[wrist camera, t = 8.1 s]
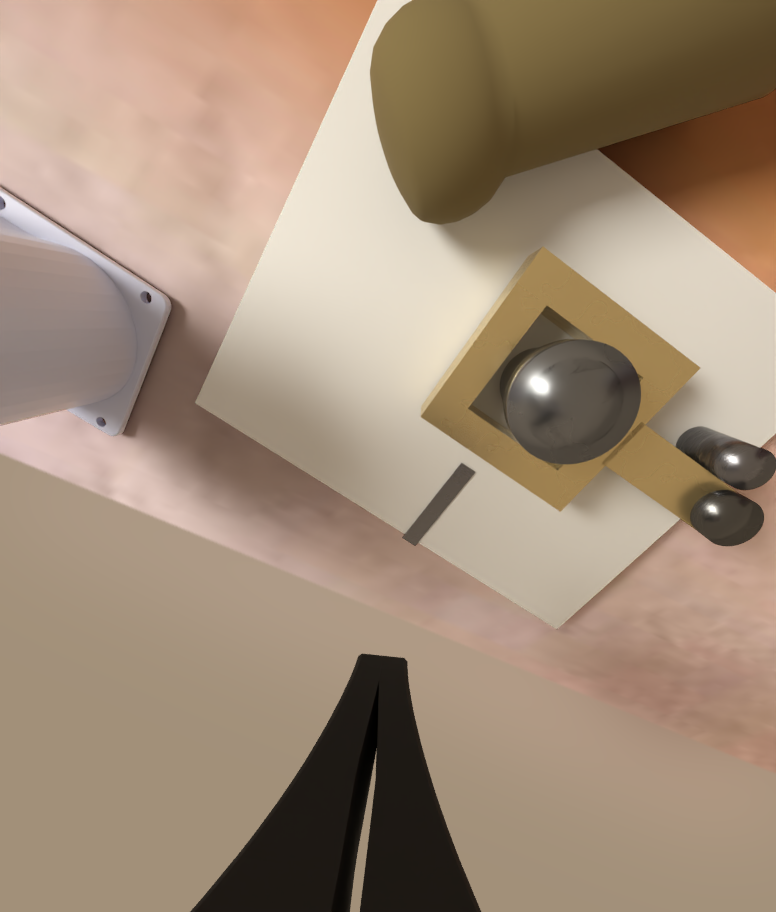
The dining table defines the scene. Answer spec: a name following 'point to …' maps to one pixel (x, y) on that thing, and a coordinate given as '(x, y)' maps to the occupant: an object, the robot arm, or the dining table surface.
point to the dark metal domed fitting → (590, 419)
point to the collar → (641, 450)
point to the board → (447, 331)
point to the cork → (550, 84)
